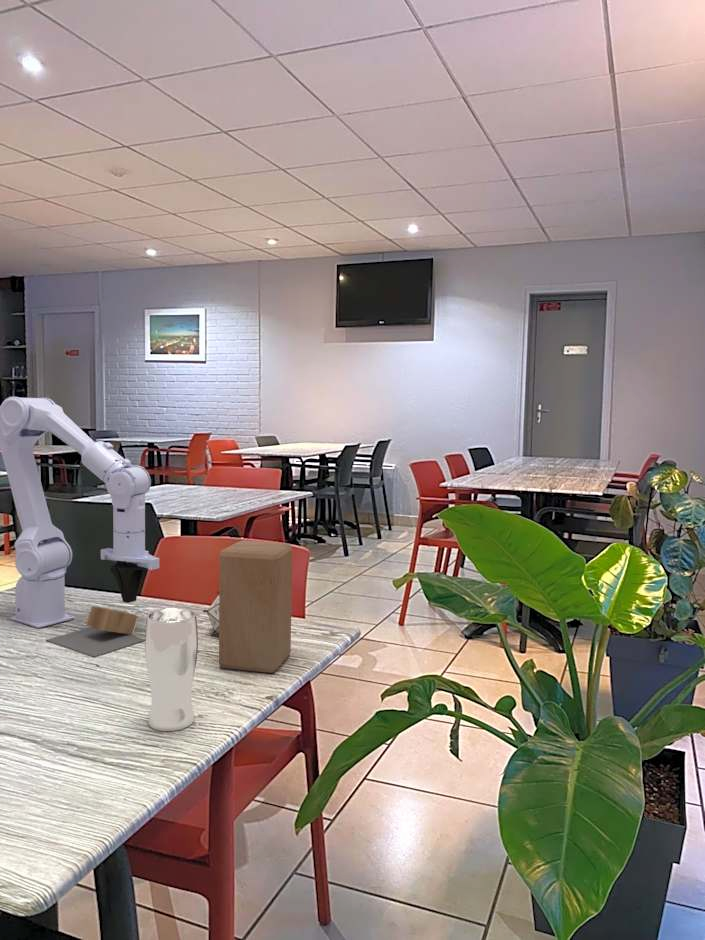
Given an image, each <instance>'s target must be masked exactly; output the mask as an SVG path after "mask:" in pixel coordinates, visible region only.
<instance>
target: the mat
mask: <svg viewBox="0 0 705 940" xmlns="http://www.w3.org/2000/svg"><path fill="white" fill-rule="evenodd" d="M45 641H46V642H48V643H51V644H53V643H54V645H56V644H58V645H57V646H59V645H60V647H62V646H63V648H65V647H66V648H65V649H68V648H69V650H71V649H72V651H74V650H75V652H77V651H78V652H77V653H80V652H81V653H80V654H83V655H86V654H87V655H86V656H88V657H93V658H97V657H101V656H104V655H106V653H107V654H109V652H110V653H112V651H113V652H115V651H118V650H121V649H124V648H127V647H131V646H134V645H137V644H140V643H142V642H143V643H144V642H145V638H142V637H139V636H136V635H134V634H133V635H131V634H124V633H117V632H110V631H103V630H100V629H97V628H93V627H90V626H88V627H86V628H83V629H79V630H75V631H73V632H72V631H71V632H68V633H64V634H61V635H58V636H54V637H51V638H48V639H45ZM103 654H104V655H103ZM100 655H101V656H100Z"/></svg>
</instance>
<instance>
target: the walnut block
mask: <svg viewBox="0 0 705 940" xmlns="http://www.w3.org/2000/svg"><path fill="white" fill-rule="evenodd" d="M138 619H139V615H137V614H133V613H129V612H127V611H123V610H117V609H112V608H106V607H101V606H95V605H94V606H93V605H91V608H90V611H89V614H88V618H87V622H86V624H85V626H88V627H93V628H97V629H100V630H103V631H110V632H117V633H124V634H129V635H133V636H134V632H135V629H136V626H137V623H138V622H137V621H138Z"/></svg>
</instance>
